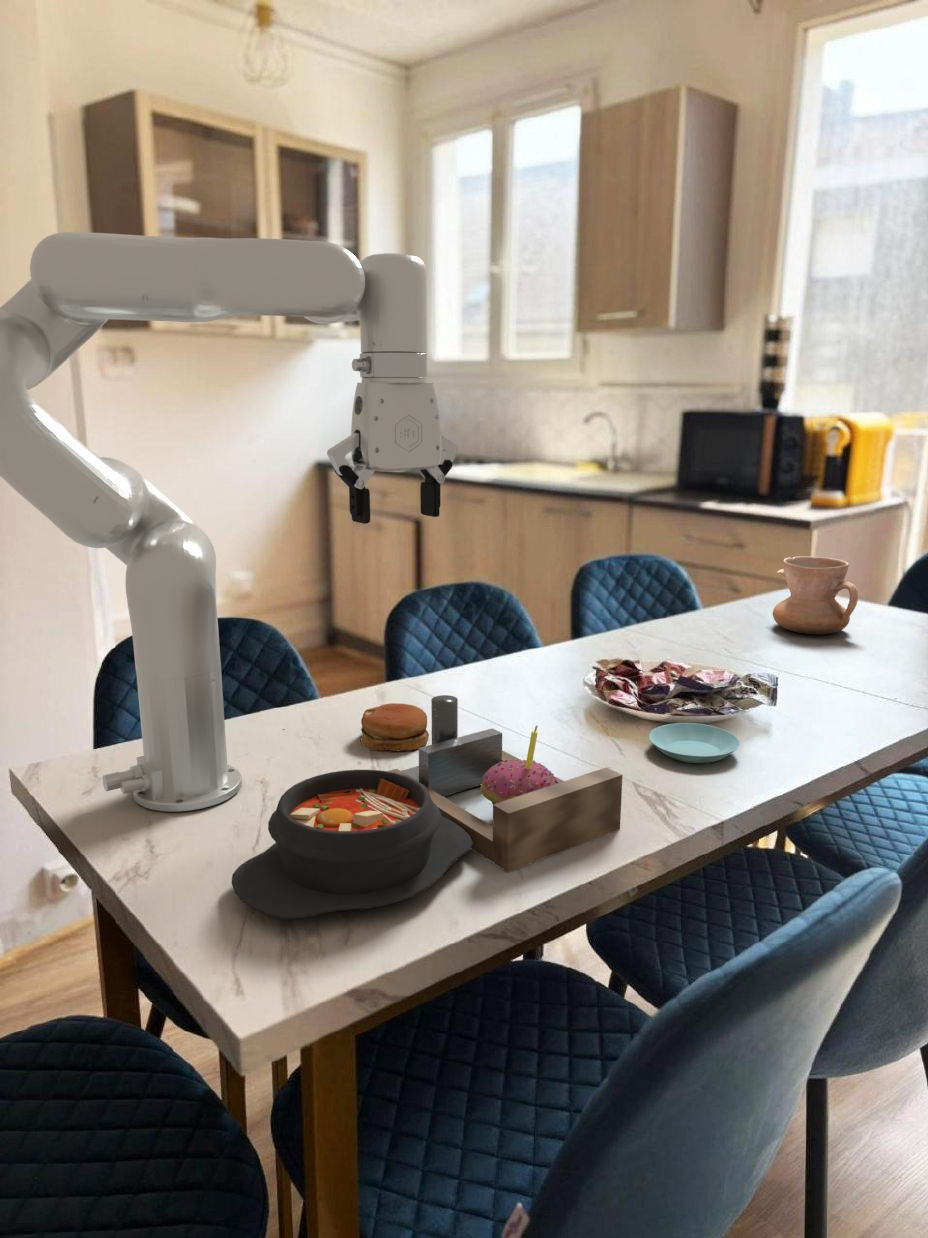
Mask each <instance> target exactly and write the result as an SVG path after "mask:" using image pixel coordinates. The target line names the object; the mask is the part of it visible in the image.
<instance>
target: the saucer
mask: <svg viewBox="0 0 928 1238" xmlns="http://www.w3.org/2000/svg"><path fill="white" fill-rule="evenodd" d="M648 739H649V741H650V742H651V743H652V745H654V747H656V749H658V750H659V752H661V753H663V754H664V755H666V756H667V757H669V758H672V759H674V760H676V761H680V762H682V763H683V762H684V763H688V764H689V763H690V764H708V763H713V762H716V761H717V762H718V761H720V760H722V759H724V758H727V757H728V756H729V755H731V754H733V753H734V752H735V751H737V750H738V748H739V747H740V744H741V743H740V739H739V738H738V736H736V735H735V734H734V733H733V732H730V731H729V730H727V729H724V728H720V727H718V726H714V725H708V724H704V723H695V722H677V723H668V724H664V725H660V726H658V727H655V728H653V729H652V730H651V731H650V732H649V734H648Z"/></svg>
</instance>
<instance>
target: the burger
mask: <svg viewBox="0 0 928 1238" xmlns="http://www.w3.org/2000/svg"><path fill="white" fill-rule="evenodd" d="M360 723H361V729H360V731H361V735H362V736H360V737H361V738H360V742H361V744H362V745H363V747H366V748H367V749H370V750H373V751H380V752H381V751H382V752H384V751H387V750H388V751H391V752H392V751H393V752H404V751H414V750H417V749H418V750H419V748H421V747H425V745H426V744H428V743H427V742H429V737H430V735H429V732H428V730H427V727H428V715H427V713H426V712H425V711H424V710H423V709H422V708H421V707H418V706H417V705H413V704H409V703H399V702H398V703H396V702H395V703H393V702H392V703H390V702H389V703H385V704H381V705H379V706H374V707H371V708H368V709H366V710H364V711H363V714H362V717H361V721H360Z"/></svg>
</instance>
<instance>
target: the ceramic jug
mask: <svg viewBox="0 0 928 1238" xmlns="http://www.w3.org/2000/svg"><path fill="white" fill-rule="evenodd" d="M782 564H783V565H782V566H783V567H782V569H778V571H777V572H776V575H777V576H779V577H784V578H785V579H786V584H787V587H788V590H789V593H790V596H788V597H787V598H785V599H784V600H782V601H780V602H778V603H777V604H776V605H775V606H774V608H773V609H772V618H773V620H774V621H775V623H776V624H778V625H779V626H780V627H781V628H784V629H785V630H788V631H791V632H794V633H800V634H804V635H807V634H808V635H827V634H833V633H836V632H839V631H842V630H844V629H845V628H846V627H848V625H849V622H850V620H851V615H852V613H854V610H855V609H856V606H857V604H858V600H859V592H858V591H859V590H858V589H857V587H856V585H855V584H853V583H852V582H849V581H845V579H846V576H847V573H848V570H849V565H850V564H849V562H848V561H845V560H843V559H839V558H831V557H823V556H809V555H807V556H801V555H800V556H798V555H797V556H793V557H785V558H784V559H783V562H782ZM845 589H846V590H848V593H849V602H848V604H847V606H846V608H845V607H844V606H843V605H841V604H840V603H839V602H838V601H837V600H836V597H837V595H838V593H839V592H841V591H842V590H845Z"/></svg>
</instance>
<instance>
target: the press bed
mask: <svg viewBox="0 0 928 1238" xmlns="http://www.w3.org/2000/svg"><path fill="white" fill-rule="evenodd" d="M506 760H509V761H510V760H511V761H512V760H522V759H520V758H518V757H516V756H515V755H513V754H511V753H508V752H506V751H505V750H503V749H502V761H506ZM386 771H387V772H393V773H398V774H401V775H404V776H408V775H407V774H405V773H403V772H402V770H400V769H399V768H393V769H391V770H386ZM408 777H410V776H408ZM554 777H555V778H556V780H557V779H558V781H557V782H558V783H557V784H554V785H551V786H548V787H545V788H542V789H539V790H536V791H533V792H530V793H527V794H524V795H521V796H518V797H514V798H511V799H508V800H505V801H502V802H499V803H496V804H492V825H491V824H489V823H487V822H486V821H484V820H482V818H481V819H480V818H479V817H478V816H476V815H474V814H472V813H471V812H469V811H468V810H466V809H464V808H463V807H461V806H460V805H458V804H456V803H454V802H453V801H451V800H449V799H448V798H446V797H445V796H441V795H440V794H438V793H436V792H435V791H433V790H431V789H430V788H428V787H426V786H425V785H424V786H425V787H426V789H427V790H428V791H429V794H430V796H431V799H432V801H433V802H434V803H435V804H436V805H437V807H438V808H439V810H440V813H441V816H443V817H445V818H447V819H449V820H451V821H453V822H455V823H456V824H458V825H459V826H460V827H462V828H463V829H464V830H465V831H466V832H467V833H468V834H469V835H470V837H471V839H472V842H473V844H472V847H471V850H473V851H474V852H475V853H477V854H479V855H480V856H481V857H483V858H485V859H487V861H489V862H491V864H493V865H495V866H497V867H498V868H500V869H502V870H503V871H504V872H506V873H511V872H512V871H515V870H518V869H520V868H523V867H525V866H528V865H531V864H533V863H534V864H535V863H536V862H539V861H541V860H544V859H546V858H549V857H552V856H554V855H557V854H560V853H561V852H562V853H563V852H565V851H567V850H569V849H572V848H574V847H577V846H580V845H583V844H586V843H588V842H590V841H593V840H596V839H598V838H601V837H603V836H606V835H608V833H609V834H611V833H614V832H617V831H619V830H620V829H621V816H622V814H621V813H622V795H623V794H622V793H623V774H622V773H619V772H617V771H615V770H614V769H611V768H609V767H606V766H605V767H603V768H600V769H597V770H594V771H592V772H588V773H584V774H583V775H579V776H575V777H573V778H569V779H567V780H563V779H561V778H558V777H557V776H555V775H554ZM410 778H412V777H410ZM412 779H413V778H412ZM414 780H415V779H414ZM419 783H420V782H419ZM422 785H423V784H422ZM616 830H617V831H616ZM610 832H611V833H610ZM530 863H531V864H530Z"/></svg>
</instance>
